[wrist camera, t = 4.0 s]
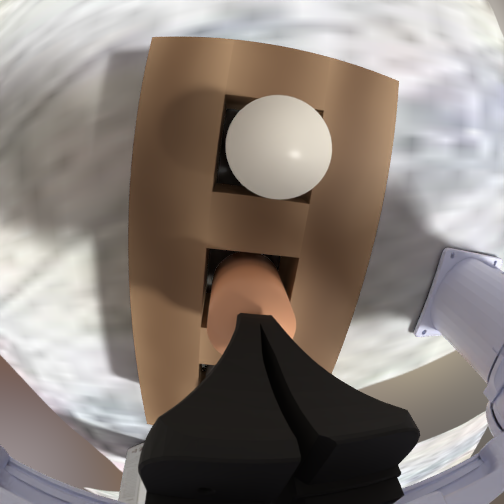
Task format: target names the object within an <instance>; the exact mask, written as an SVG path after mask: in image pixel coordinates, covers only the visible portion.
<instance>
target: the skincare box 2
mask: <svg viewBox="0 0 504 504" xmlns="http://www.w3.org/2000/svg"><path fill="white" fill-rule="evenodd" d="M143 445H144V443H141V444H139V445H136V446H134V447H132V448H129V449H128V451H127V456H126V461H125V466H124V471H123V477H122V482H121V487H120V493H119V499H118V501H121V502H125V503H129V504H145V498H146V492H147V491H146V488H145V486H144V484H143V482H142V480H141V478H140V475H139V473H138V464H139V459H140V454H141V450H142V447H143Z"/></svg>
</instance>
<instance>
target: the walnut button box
mask: <svg viewBox="0 0 504 504" xmlns="http://www.w3.org/2000/svg"><path fill="white" fill-rule="evenodd" d="M398 87H399V81H397V80H395V79H392V78H390V77H387V76H385V75H382V74H379V73H377V72H374V71H371V70H368V69H365V68H363V67H360V66H357V65H353V64H350V63H347V62H344V61H341V60H337V59H334V58H330V57H326V56H323V55H319V54H315V53H311V52H306V51H302V50H297V49H293V48H288V47H282V46H277V45H271V44H265V43H258V42H251V41H243V40H233V39H222V38H207V37H152V41H151V45H150V49H149V54H148V58H147V63H146V67H145V72H144V77H143V82H142V88H141V94H140V100H139V106H138V112H137V120H136V127H135V135H134V144H133V154H132V165H131V178H130V194H129V223H128V258H129V287H130V303H131V316H132V328H133V337H134V346H135V354H136V362H137V369H138V376H139V382H140V388H141V394H142V400H143V405H144V410H145V415H146V420H147V424H151V425H154V423H155V421H156V420H157V418H158V417H160V416H161V415H162V414H164V413H165V412H167V411H168V410H170V409H171V408H173V407H174V406H175V405H177V404H178V403H179V402H181V401H182V400H183V399H184V398H185V397H186V396H187V395H189V394H190V393H191V392H192V391H193V390H194V389H195V388H196V387H197V386H198V385H199V384H200V383H201V382H202V381H203V380H204V379H205V378H206V371H201V369H202V364H208V365H216V364H217V362H218V361H219V359H220V358H221V356H222V354H221V353H219V352H218V351H217V350H216V349H215V348H214V347H213V345H212V344H211V342H210V340H209V337H208V334H207V321H208V312H209V304H210V296H211V293H206V286H207V274H208V262H209V251H210V248H211V249H221V250H230V251H240V252H249V253H259V254H268V255H278V256H281V258H280V264H279V269H278V273H279V275H280V278H281V281H282V283H283V286H284V288H285V291H286V294H287V296H288V299H289V301H290V304H291V307H292V309H293V312H294V315H295V318H296V331H295V334H294V337H293V340H294V342H295V343H296V344H297V345H298V346H299V347H300V348H301V349H302V350H303V351H304V352H305V353H306V354H307V355H309V356H310V357H311V358H312V359H313V360H314V361H315V362H316V363H318V364H319V365H320V366H321V367H323V368H324V369H325V370H327V371H328V372H329V373H331V374H332V371H333V369H334V366H335V364H336V361H337V359H338V356H339V353H340V351H341V348H342V345H343V342H344V340H345V337H346V334H347V331H348V328H349V326H350V323H351V320H352V317H353V314H354V311H355V307H356V304H357V301H358V298H359V295H360V291H361V288H362V285H363V281H364V278H365V274H366V271H367V267H368V264H369V260H370V256H371V252H372V248H373V244H374V240H375V236H376V232H377V228H378V223H379V219H380V214H381V210H382V205H383V200H384V195H385V189H386V184H387V178H388V173H389V167H390V160H391V153H392V146H393V139H394V131H395V122H396V112H397V101H398ZM271 95H284V96H290V97H294V98H297V99H299V100H301V101H303V102H305V103H307V104H308V105H310V106H311V107H312V108H314V109H315V110H316V111H317V112H318V113H319V115H320V116H321V117H322V118H323V120H324V122H325V123H326V125H327V127H328V130H329V133H330V136H331V141H332V156H331V161H330V164H329V167H328V169H327V171H326V173H325V175H324V177H323V178H322V179H321V181H320V182H319V183H318V184H317V185H316V186H315V187H314V188H312V189H311V190H310V191H308V192H306V193H305V194H302V195H300V196H298V197H294V198H290V199H281V200H279V199H270V198H265V197H262V196H259V195H257V194H255V193H253V192H252V191H250V190H249V189H247V188H246V187H245V186H239V185H231V184H222V183H217V175H218V167H219V159H220V152H221V144H222V137H223V129H224V122H225V115H226V109H236V110H241V109H242V108H243V107H245V106H246V105H247V104H249V103H251V102H252V101H254V100H256V99H259V98H262V97H265V96H271Z"/></svg>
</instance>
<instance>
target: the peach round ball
mask: <svg viewBox="0 0 504 504" xmlns="http://www.w3.org/2000/svg"><path fill="white" fill-rule="evenodd" d="M240 313H248V314H261V315H272V316H273V317H274V318H275V319H276V321H277V322H278V323H279V324H280V326H281V327H282V328H283V329H284V330H285V331H286V333H287V334H288V335H289V336H290V337H291V338H292V339H293V337H294V334H295V331H296V318H295V315H294V312H293V309H292V307H291V304H290V301H289V299H288V296H287V294H286V291H285V288H284V286H283V283H282V281H281V278H280V275H279V273H278V270H277V268H276V266H275V265H274V263H273V262H272V261H271V260H270V259H269V258H267V257H266V256H264V255H262V254H259V253H249V252H236V253H233V254H231V255H229V256H227V257H226V258H225V259H223V260H222V261H221V262H220V263H219V265H218V266H217V268H216V270H215V272H214V275H213V281H212V288H211V296H210V304H209V312H208V321H207V334H208V337H209V340H210V342H211V344H212V345H213V347H214V348H215V349H216V350H217V351H218V352H219V353H221V354H222V355H223V353H224V351H225V349H226V348H227V346H228V344H229V342H230V340H231V338H232V335H233V333H234V331H235V327H236V320H237V315H238V314H240Z"/></svg>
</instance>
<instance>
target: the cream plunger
mask: <svg viewBox="0 0 504 504" xmlns="http://www.w3.org/2000/svg"><path fill="white" fill-rule="evenodd" d="M226 155H227V160H228V163H229V166H230V168H231V170H232V172H233V174H234V175H235V177H236V178H237V179H238V180H239V182H240V183H241V184H242V185H244V186H245V187H246V188H247V189H249V190H250V191H252V192H253V193H255V194H257V195H259V196H262V197H265V198H270V199H279V200H281V199H290V198H294V197H298V196H300V195H302V194H305V193H306V192H308V191H310V190H311V189H312V188H314V187H315V186H316V185H317V184H318V183H319V182H320V181H321V179H322V178H323V177H324V175H325V173H326V171H327V169H328V167H329V164H330V161H331V156H332V141H331V136H330V133H329V130H328V127H327V125H326V123H325V122H324V120H323V118H322V117H321V116H320V115H319V113H318V112H317V111H316V110H315V109H314V108H312V107H311V106H310V105H308V104H307V103H305V102H303V101H301V100H299V99H297V98H294V97H290V96H284V95H271V96H265V97H262V98H259V99H256V100H254V101H252V102H251V103H249V104H247V105H246V106H245V107H243V108H242V109H241V110H240V111H239V112H238V113H237V115H236V116H235V117H234V119H233V121H232V122H231V124H230V127H229V129H228V132H227V137H226Z"/></svg>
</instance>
